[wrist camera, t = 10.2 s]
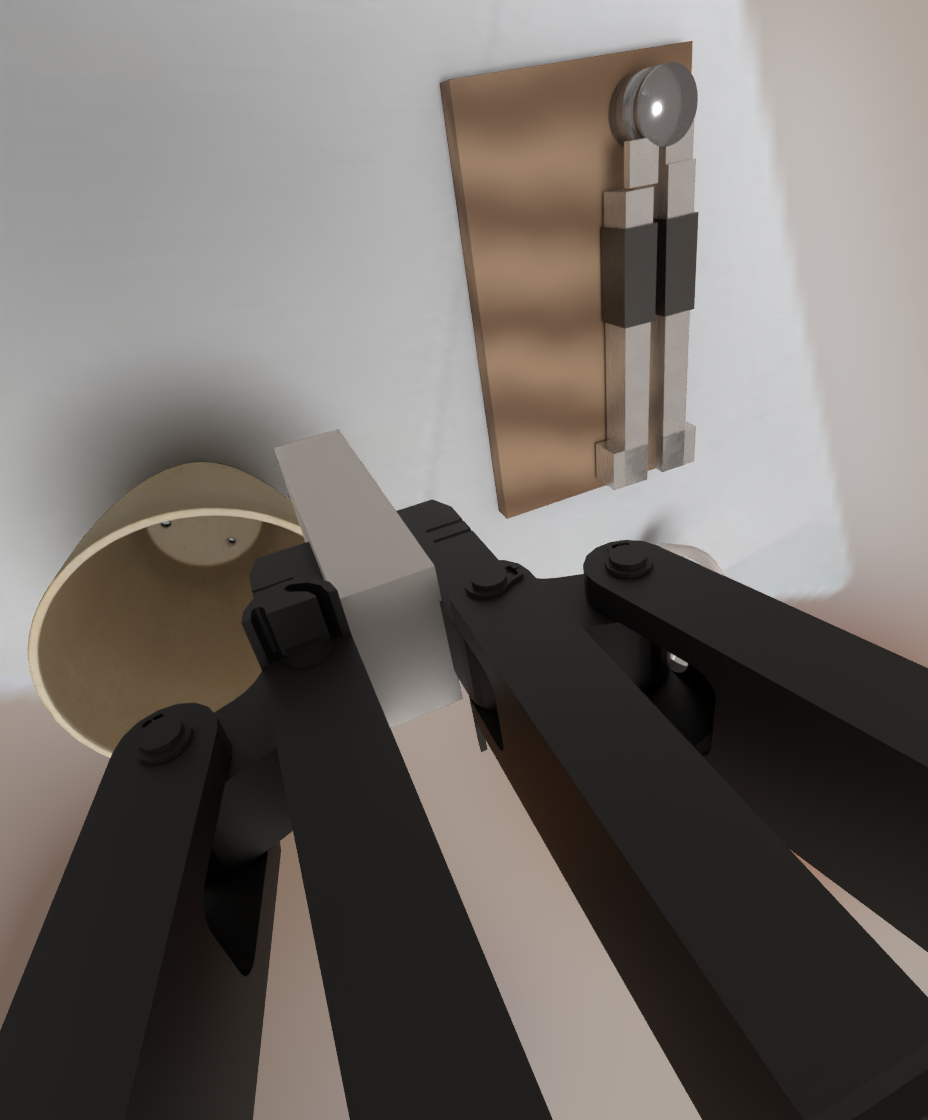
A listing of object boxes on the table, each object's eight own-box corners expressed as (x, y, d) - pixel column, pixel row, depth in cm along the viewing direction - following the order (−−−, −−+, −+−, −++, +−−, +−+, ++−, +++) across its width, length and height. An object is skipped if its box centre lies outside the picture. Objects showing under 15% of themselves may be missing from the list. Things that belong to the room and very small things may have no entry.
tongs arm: (586, 77, 38) (614, 70, 35) (667, 65, 39) (699, 58, 37) (596, 478, 52) (616, 492, 49) (655, 459, 53) (678, 472, 51)
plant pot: (71, 388, 37) (18, 494, 24) (329, 421, 43) (396, 520, 30) (74, 610, 43) (34, 790, 30) (300, 610, 49) (346, 759, 36)
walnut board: (439, 83, 36) (449, 79, 35) (676, 45, 40) (692, 40, 39) (499, 511, 52) (507, 518, 51) (666, 454, 56) (677, 460, 54)
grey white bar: (607, 75, 38) (633, 68, 36) (686, 62, 39) (716, 55, 37) (616, 470, 52) (635, 482, 50) (674, 451, 54) (695, 462, 51)
